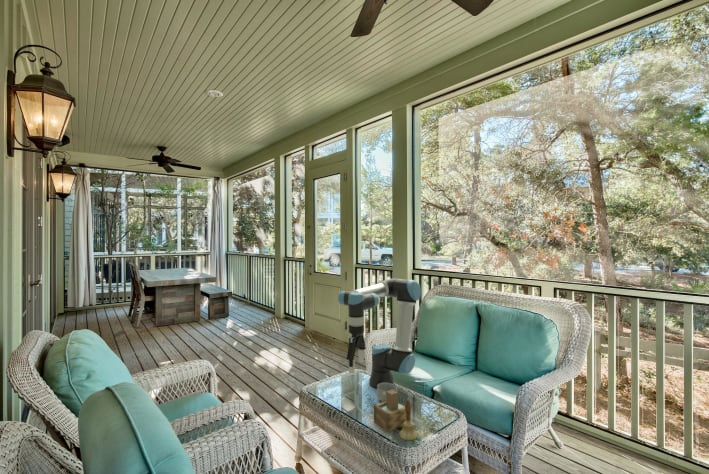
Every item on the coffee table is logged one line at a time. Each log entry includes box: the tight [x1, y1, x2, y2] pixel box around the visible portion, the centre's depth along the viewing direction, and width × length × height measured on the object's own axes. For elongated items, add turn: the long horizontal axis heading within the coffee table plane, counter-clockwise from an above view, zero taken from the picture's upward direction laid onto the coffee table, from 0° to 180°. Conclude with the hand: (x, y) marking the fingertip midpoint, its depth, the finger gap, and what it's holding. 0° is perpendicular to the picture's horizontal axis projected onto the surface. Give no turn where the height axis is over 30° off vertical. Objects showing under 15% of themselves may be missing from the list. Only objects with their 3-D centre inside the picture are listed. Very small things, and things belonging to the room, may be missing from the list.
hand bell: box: [398, 399, 418, 441], centre depth 156 cm, size 8×8×16 cm
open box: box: [373, 401, 412, 432], centre depth 167 cm, size 14×11×8 cm
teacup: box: [376, 382, 398, 403], centre depth 186 cm, size 14×11×8 cm
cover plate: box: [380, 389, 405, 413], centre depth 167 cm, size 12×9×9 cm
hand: (356, 367), depth 168 cm, fingers open, 13 cm apart
